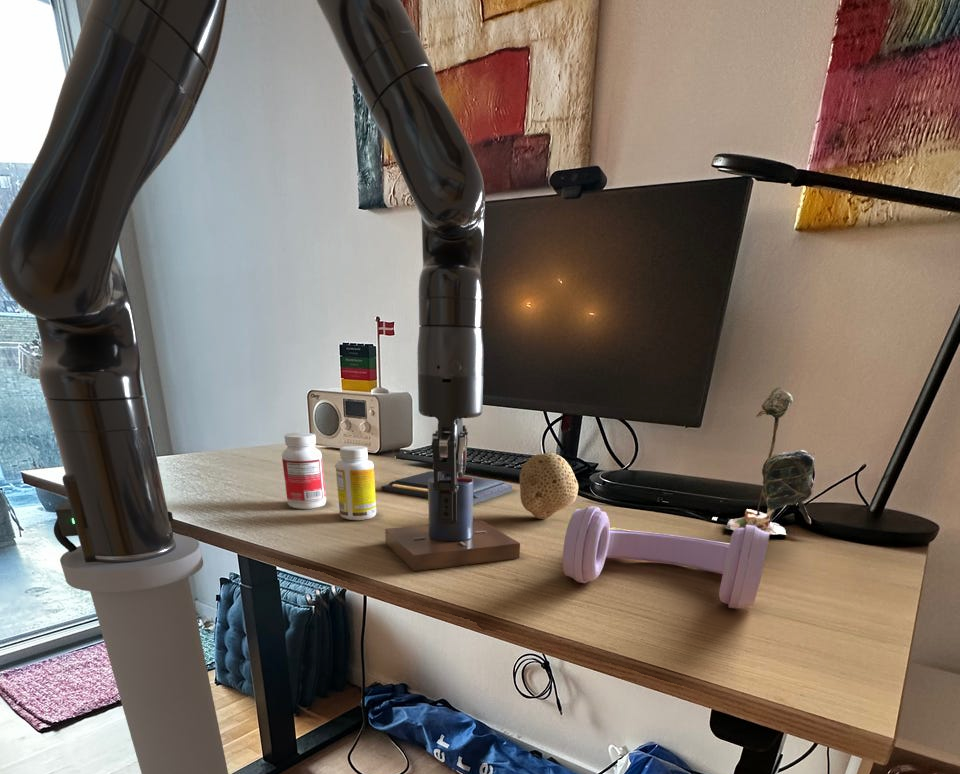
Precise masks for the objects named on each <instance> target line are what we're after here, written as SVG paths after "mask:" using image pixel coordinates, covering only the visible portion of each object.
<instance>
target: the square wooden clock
mask: <svg viewBox="0 0 960 774" xmlns="http://www.w3.org/2000/svg"><path fill="white" fill-rule="evenodd" d="M384 533H385V535H384V536H385V544H386V545H387V546H388V547H389V548H390V549H391V550H392V551H393V552H394V553H395V554H396V555H397V556H398V557H399V558H400V559H401V560H402V561H403V562H404V563H405V564H406V565H407V566H408V567H409V568H410V569H412V570H413V572H418V571H419V572H421V571H429V570H436V569H437V570H438V569H444V568H451V567H452V568H453V567H460V566H468V565H476V564H484V563H491V562H500V561H508V560H515V559H520V557H521V555H520V554H521V542H519V541H517V540H515V539H514V538H512V537H510V536H509V535H507V534H506V533H505V532H502V531H500V530H499V529H497V528H495V527H494V526H492V525H490V524H488V523H487V522H486V521H484V520H482V519H477V520H475V519H474V520H473V530H472V537H471V538H470V539H467V540H463V541H454V542H449V541H439V540H435V539H432V538H431V537H430V536H429V524H423V525H412V526H404V527H403V526H401V527H391V528H385V529H384Z"/></svg>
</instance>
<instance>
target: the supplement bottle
mask: <svg viewBox="0 0 960 774" xmlns="http://www.w3.org/2000/svg"><path fill="white" fill-rule="evenodd" d="M339 456H340V460H338V461H337V462H336V463H335V475H336V487H337V498H338V507H339V508H338V509H339V510H338V511H339V515H340V516H341V518H343V519H346V520H350V521H364V520H369V519H372V518H374V517H376V515H377V499H376V498H377V497H376V484H375V467H374V463H373V461H371V460H369V459H368V457H369V454H368V447H366V446H362V445H348V446H341V447H340V448H339Z"/></svg>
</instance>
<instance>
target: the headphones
mask: <svg viewBox="0 0 960 774" xmlns="http://www.w3.org/2000/svg"><path fill="white" fill-rule="evenodd" d="M769 540H770V535H769V533H767V532H764V531H762V530H760V529H758V528H757V527H756V526H752V525H746V528H738V529H736V530H733V531H732V533H731V536H730V540H729V542H723V541H716V540H710V539H703V538H695V537H688V536H681V535H675V534H668V533H659V532H658V533H657V532H649V531H639V530H632V529H631V530H630V529H626V528H619V527H611V524H610V518H609V516H608V514H607V512H606V511H603V510H601V508H600V507H599V506H588V507H586V508H583V509H582V508H581V509H578V508H577V509H576V510H574V511H573V513H572V514H571V517H570V519H569V522H568V524H567V528H566V532H565V536H564V541H563V542H564V543H563V548H562V570H563V573H564V575H565V576H566V577H570V578H571V579H573V580H574V581H575V582H577V583H581V584H587V583H588V582H593V581H595V580H597V578H598V577H599V576H600V574H601V572H602V570H603V568H604V565H605V561H606V559H621V560H623V559H624V560H635V561H636V560H637V561H646V562H653V563H663V564H670V565H676V566H683V567H687V568H694V569H698V570H703V571H708V572H713V573H716V574H721V575H722V576H721V582H720V585H719V591H718V592H719V593H718V597H719V600H720V602H722V603H724V604H727V605H728V608H729V609H740V608H743V607H753V606H755V605H754V604H755V601H756V598H757V594H758V591H759V587H760V583H761V578H762V574H763V571H764V570H763V569H764V565H765V561H766V557H767V551H768V545H769Z"/></svg>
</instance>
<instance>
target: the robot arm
mask: <svg viewBox="0 0 960 774" xmlns="http://www.w3.org/2000/svg"><path fill="white" fill-rule="evenodd" d="M315 1H316V4H317V5H318V7H319V9H320V12H321V13H322V16H323V18H324V20H325V22H326V24H327V26H328V28H329V31H330V33H331V34H332V37H333V39H334V41H335V43H336V45H337V47H338V49H339V51H340V54H341V55H342V58H343V60H344V62H345V64H346V66H347V68H348V70H349V73H350V74H351V76H352V79H353V81H354V83H355V84H356V86H357V89H358V91H359V93H360V95H361V97H362V99H363V101H364V103H365V105H366V107H367V109H368V111H369V114H370V115H371V116H372V119H373V121H374V123H375V124H376V127H377V128H378V130H379V132H380V133H381V135H382V136H383V138H384V139H385V141H386V142H387V143H388V145H389V147H390V150H391V153H392V155H393V157H394V159H395V162H396V164H397V167H398V169H399V171H400V174H401V176H402V179H403V180H404V182H405V185H406V188H407V190H408V192H409V194H410V196H411V198H412V201H413V204H414V205H415V206H416V210H418V213H419V215H420V220H421V222H420V223H421V244H422V245H421V246H422V247H421V249H422V250H421V252H422V269H421V271H420V275H419V279H418V280H419V281H418V325H419V327H418V338H417V339H418V340H417V352H416V354H417V355H416V356H417V358H416V359H417V398H418V399H417V401H418V402H417V403H418V413H419V414H420V415H421V416H423V417H427V418H435V419H436V420H437V430H435V432H432V436H431V447H432V470H433V472H434V483H433V488H434V491H436V492H437V493H438V521H439V523H440V524H455V523H456V521H457V490H458V489H459V486H458V476H460V477H464V476H465V473H466V472H465V471H466V469H467V467H466V466H467V460H468V453H467V450H468V449H467V447H468V445H469V444H468V443H469V431H468V428H467V426H466V425H464V424H463V419H473V418H479V417H480V416H481V415H482V414H483V405H484V404H483V401H484V360H485V358H484V357H485V353H484V352H485V350H484V339H483V305H484V302H483V300H484V299H483V297H484V295H483V294H484V293H483V291H484V290H483V280H482V262H483V249H484V239H485V238H484V237H485V223H486V222H485V221H486V219H485V218H486V192H485V183H484V182H485V181H484V177H483V174H482V170H481V168H480V167H479V164H478V161H477V159H476V157H475V155H474V152H473V150H472V149H471V146H470V145H469V142H468V140H467V139H466V137H465V135H464V133H463V131H462V129H461V127H460V125H459V123H458V122H457V120H456V118H455V116H454V114H453V112H452V111H451V108H450V107H449V105H448V104H447V102H446V100H445V98H444V94H443V91H442V89H441V86H440V83H439V81H438V78H437V75H436V74H435V70H434V69H433V66H432V65H431V62H430V60H429V57H428V55H427V53H426V50H425V49H424V46H423V44H422V41H421V40H420V37H419V35H418V32H417V30H416V29H415V26H414V24H413V22H412V19H411V18H410V16H409V14H408V12H407V10H406V8H405V7H404V5H403V3H402V1H401V0H315ZM89 2H90V3H89V4H88V7H87V10H86V13H85V16H84V19H83V22H82V25H81V29H80V32H79V36H78V39H77V43H76V45H75V48H74V51H73V54H72V57H71V60H70V62H69V65H68V68H67V71H66V74H65V76H64V79H63V82H62V85H61V89H60V92H59V94H58V97H57V101H56V104H55V108H54V111H53V115H52V118H51V121H50V125H49V128H48V131H47V133H46V135H45V138H44V141H43V143H42V145H41V148H40V150H39V152H38V154H37V156H36V158H35V160H34V162H33V163H32V166H31V168H30V170H29V172H28V173H27V176H26V178H25V179H24V181H23V183H22V185H21V187H20V189H19V190H18V192H17V194H16V196H15V198H14V199H13V201H12V203H11V205H10V207H9V208H8V211H7V213H6V214H5V216H4V218H3V220H2V222H1V224H0V281H1V283H2V285H3V287H4V289H5V290H6V291H7V293H8V294H9V295H10V297H11V298H12V300H14V301H15V303H17V304H18V305H19V306H20V307H21V308H22V309H23V310H25V311H26V312H28V313H29V314H31V315H33V316H34V318H35V322H36V327H37V329H38V334H39V338H40V344H41V361H40V364H39V367H38V379H39V383H40V387H41V391H42V394H43V395H42V396H43V397H44V400H45V405H46V408H47V411H48V416H49V419H50V422H51V426H52V429H53V430H52V431H53V434H54V437H55V441H56V444H57V447H58V451H59V456H60V459H61V462H62V466H63V470H64V475H63V476H62V484H63V487H64V490H65V491H64V492H65V494H66V497H67V499H63V500H62V501H61V502H60V503H59V505H58V506H57V507H56V509H55V511H54V512H55V514H56V520H55V522H54V526H53V534H54V536H55V539H56V541H57V542H58V543H60V545H62V547H64V549H66V550H67V552H68V551H69V552H73V551H75V550H76V549H77V547H78V546H77V545H75V544H74V543H73V542H72V541H71V540H70V539H69V538H68V537H78V541H79V544H80V545H79V546H81V548H82V552H83V555H84V559H85V562H105V563H126V562H135V561H142V560H147V559H152V558H156V557H159V556H162V555H165V554H167V553H169V552H171V551H173V550H174V549H175V548H176V544H175V539H174V538H173V534H174V533H173V527H172V524H171V523H173V524H174V516H173V512H172V511H169V510H168V505H167V500H166V496H165V491H164V486H163V485H164V484H163V481H162V476H161V472H160V467H159V462H158V457H157V451H156V448H155V443H154V437H153V433H152V428H151V423H150V418H149V414H148V408H147V404H146V399H145V395H144V389H143V383H142V359H141V352H140V347H139V342H138V335H137V330H136V325H135V320H134V315H133V309H132V308H133V307H132V303H131V299H130V294H129V289H128V284H127V281H126V278H125V275H124V271H123V269H122V267H121V264H120V262H119V260H118V258H117V256H116V253H117V250H118V246H119V242H120V239H121V236H122V232H123V230H124V228H125V224H126V222H127V219H128V217H129V213H130V211H131V209H132V206H133V205H134V202H135V201H136V198H137V196H138V195H139V193H140V191H141V190H142V189H143V187H144V185H145V184H146V183H147V181H148V180H149V179H150V178H151V176H152V175H153V174H154V173H155V171H156V170H157V169H158V168H159V167H160V166H161V164H162V163H163V162H164V160H165V159H166V158H167V157H168V155H169V154H170V153H171V151H172V150H173V149H174V147H175V146H176V145H177V143H178V142H179V140H180V139H181V138H182V136H183V134H184V132H185V131H186V129H187V128H188V125H189V124H190V122H191V120H192V118H193V115H194V113H195V112H196V108H197V107H198V105H199V102H200V100H201V97H202V94H203V92H204V90H205V88H206V85H207V83H208V80H209V78H210V76H211V74H212V71H213V68H214V65H215V62H216V60H217V59H216V58H217V56H218V51H219V48H220V43H221V38H222V33H223V28H224V22H225V16H226V11H227V4H228V0H90V1H89ZM442 475H443V476H451V480H442Z"/></svg>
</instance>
